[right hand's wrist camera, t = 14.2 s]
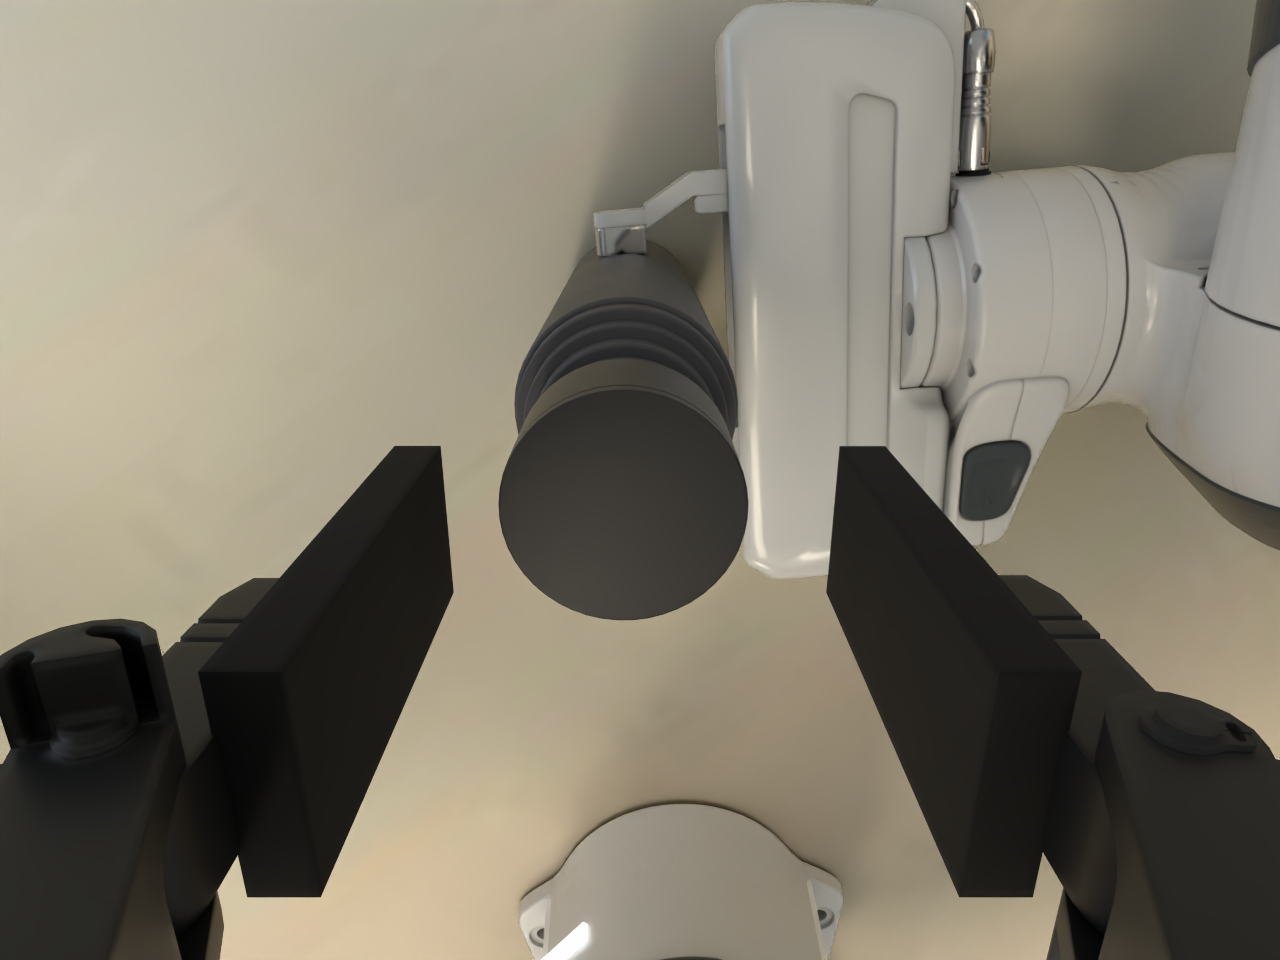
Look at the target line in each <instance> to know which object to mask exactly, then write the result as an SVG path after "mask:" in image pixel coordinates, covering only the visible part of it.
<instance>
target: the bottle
mask: <svg viewBox="0 0 1280 960" xmlns="http://www.w3.org/2000/svg"><path fill="white" fill-rule="evenodd" d="M646 246H647V253H640V254H627V253H625V252H623V251H622V250H621V251H620V252H619V253H618V254H617V255H612V256H598V255H597V247H596V248H594V249H593V250H591V251H590V252H589V253H588V254H586V256H585V257H584V258H583V259H582V260H581V261H580V262H579V264H578V265H577V267H576V268H575V270H574V272H573V274H572V275H571V277H570V279H569V281H568V283H567V284H566V286H565V288H564V290H563V291H562V293H561V295H560V297H559V299H558V300H557V302H556V304H555V306H554V308H553V309H552V311H551V313H550V315H549V316H548V318H547V320H546V322H545V324H544V325H543V327H542V329H541V331H540V333H539V334H538V336H537V338H536V340H535V341H534V343H533V345H532V347H531V349H530V350H529V352H528V354H527V356H526V358H525V360H524V362H523V365H522V367H521V370H520V373H519V376H518V380H517V385H516V391H515V418H516V423H517V429H518V434H519V433H520V431H521V428H522V426H523V424H524V421H525V419H526V417H527V416H528V414H529V412H530V410H531V408H532V407H533V405H534V404H535V403H536V401H537V400H538V399H539V397H540V396H541V395H542V394H543V393H544V392H545V391H546V390H547V389H548V388H549V387H550V386H551V385H552V384H554V383H555V382H556V381H558V380H559V379H560V378H562V377H563V376H565V375H567V374H568V373H570V372H572V371H574V370H576V369H578V368H581V367H583V366H585V365H588V364H592V363H595V362H599V361H604V360H611V359H638V360H645V361H650V362H654V363H657V364H661V365H663V366H666V367H668V368H671V369H673V370H675V371H677V372H679V373H681V374H682V375H684V376H686V377H687V378H689V379H690V380H691V381H693V382H694V383H695V384H697V385H698V386H699V387H700V388H701V389H702V390H703V391H704V392H705V393H706V394H707V395H708V396H709V397H710V399H711V400H712V401H713V402H714V404H715V405H716V406H717V408H718V410H719V411H720V413H721V415H722V417H723V419H724V421H725V423H726V426H727V428H728V431H729V434H730V436H731V439H732V440H733V436H734V432H735V427H736V422H737V415H738V396H737V387H736V383H735V379H734V374H733V372H732V369H731V366H730V364H729V361H728V359H727V357H726V355H725V353H724V351H723V349H722V347H721V345H720V343H719V341H718V339H717V337H716V335H715V333H714V331H713V328H712V326H711V324H710V322H709V320H708V318H707V316H706V314H705V312H704V310H703V308H702V306H701V304H700V302H699V300H698V298H697V296H696V294H695V292H694V290H693V288H692V286H691V284H690V282H689V279H688V277H687V275H686V273H685V272H684V270H683V268H682V266H681V265H680V264H679V262H678V261H677V260H676V259H675V257H674V256H673V255H672V254H671V253H669V252H668V251H667V250H666V249H664V248H663V247H661V246H659V245H658V244H655V243H653V242H651V241H648V240H646Z"/></svg>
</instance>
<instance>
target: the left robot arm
mask: <svg viewBox="0 0 1280 960" xmlns="http://www.w3.org/2000/svg"><path fill="white" fill-rule="evenodd" d="M966 14H967V16H968V18H969V21H970V25H971V31H967V32H965V15H966ZM995 55H996V45H995V36H994V31H993V29H989V28H987V29H985V28H984V20H983V17H982V13H981V10H980V8H979V6H978V4H977V3H976V1H975V0H871V1H870V2H869V3H868V5H867V6H866V5H856V4H843V3H823V2H781V3H763V4H755V5H751V6H749V7H746V8H744V9H743V10H741V11H740V12H739V13H738V14H737V15H736V16H735V17H734V18H733V19H732V20H731V21H730V22H729V23H728V25H727V26H726V27H725V29H724V30H723V31H722V33H721V35H720V36H719V38H718V40H717V42H716V45H715V73H716V96H717V118H718V141H719V164H720V169H710V170H699V171H689V172H687V173H685V174H684V175H682V176H681V177H680V178H678V179H677V180H676V181H674V182H673V183H671V184H670V185H669V186H667V187H666V188H665V189H663V190H662V191H660V192H659V193H658V194H656V195H655V196H654V197H652V198H651V199H649V200H648V201H647V202H645V203H644V207H641V208H629V209H618V210H606V211H599V212H594V213H593V217H594V229H595V238H596V247H597V255H598V256H612V255H617V254H618V253H619V252H620V251H621V250H622V251H623V252H625V253H627V254H640V253H647V246H646V229H648V228H649V227H650V226H652V225H653V224H655V223H656V222H658V221H659V220H660V219H662V218H663V217H665V216H666V215H667V214H669V213H670V212H672V211H673V210H674V209H676V208H677V207H679V206H680V205H682V204H683V203H684V202H686V201H687V200H689V199H690V201H691V208H692V209H693V210H694V211H695V212H696V213H698V214H704V213H718V212H722V231H723V254H724V276H725V299H726V321H727V344H728V361H729V364H730V366H731V369H732V372H733V374H734V379H735V383H736V387H737V396H738V415H737V422H736V427H735V432H734V436H733V440H732V442H733V445H734V447H735V450H736V453H737V456H738V459H739V461H740V464H741V467H742V470H743V472H744V476H745V481H746V485H747V491H748V502H749V504H748V520H747V525H746V530H745V534H744V537H743V540H742V543H741V546H740V550H741V553H742V556H743V559H744V561H745V562H746V564H748V565H749V566H751V567H752V568H754V569H755V570H757V571H759V572H760V573H762V574H764V575H766V576H768V577H771V578H776V579H792V578H805V577H815V576H824V575H828V569H829V558H830V547H831V536H832V524H833V513H834V502H835V491H836V480H837V468H838V457H839V446H886V447H887V449H888V450H889V451H890V452H891V453H892V454H893V455H894V457H895V458H896V459H897V460H898V461H899V462H900V463H901V465H902V466H903V467H904V468H905V469H906V470H907V472H908V473H909V474H910V475H911V476H912V477H913V478H914V480H915V481H916V482H917V483H918V484H919V485H920V486H921V488H922V489H923V490H924V491H925V492H926V493H927V494H928V496H929V497H930V498H931V499H932V500H933V501H934V502H935V504H936V505H937V506H938V507H939V508H940V509H941V511H942V512H943V513H944V514H945V515H946V516H947V517H948V519H949V520H950V521H951V522H952V523H953V524H954V525H955V527H956V528H957V529H958V530H959V531H960V532H961V533H962V535H963V536H964V537H965V538H966V539H967V540H968V541H969V543H970V544H971V545H972V546H978V545H986V544H990V543H994V542H996V541H997V540H999V539H1000V538H1001V537H1002V536H1003V535H1004V533H1005V532H1006V530H1007V529H1008V527H1009V525H1010V523H1011V520H1012V518H1013V516H1014V513H1015V511H1016V509H1017V506H1018V504H1019V501H1020V499H1021V497H1022V494H1023V492H1024V490H1025V487H1026V485H1027V483H1028V480H1029V478H1030V476H1031V474H1032V471H1033V469H1034V467H1035V465H1036V463H1037V461H1038V459H1039V457H1040V454H1041V452H1042V450H1043V448H1044V446H1045V444H1046V442H1047V440H1048V439H1049V437H1050V435H1051V433H1052V431H1053V429H1054V427H1055V426H1056V424H1057V422H1058V420H1059V418H1060V417H1061V415H1062V413H1071V412H1075V411H1078V410H1081V409H1085V408H1088V407H1092V406H1095V405H1100V404H1105V403H1122V404H1127V405H1130V406H1134V407H1136V408H1138V409H1140V410H1141V411H1142V412H1143V413H1144V414H1145V416H1146V418H1147V420H1148V422H1147V423H1146V430H1147V432H1148V433H1149V435H1150V436H1151V438H1152V439H1153V440H1154V441H1155V443H1156V444H1157V445H1158V447H1159V448H1160V449H1161V451H1162V452H1163V453H1164V454H1165V455H1166V456H1167V457H1168V459H1169V460H1170V461H1171V462H1172V463H1173V464H1174V465H1175V466H1176V468H1177V469H1178V470H1179V471H1180V472H1181V473H1182V474H1183V475H1184V476H1185V477H1186V478H1187V479H1188V480H1189V482H1190V483H1191V484H1192V485H1193V486H1194V487H1195V488H1196V489H1197V490H1198V491H1199V492H1200V493H1201V495H1202V496H1203V497H1204V498H1205V499H1206V500H1207V501H1208V502H1209V503H1210V504H1211V505H1212V506H1213V508H1214V509H1215V510H1216V511H1217V512H1218V513H1219V514H1220V515H1222V516H1223V517H1224V518H1225V519H1226V520H1228V521H1229V522H1230V523H1231V524H1233V525H1234V526H1236V527H1237V528H1239V529H1240V530H1242V531H1243V532H1245V533H1246V534H1248V535H1250V536H1251V537H1253V538H1255V539H1256V540H1258V541H1260V542H1262V543H1264V544H1266V545H1268V546H1270V547H1272V548H1275V549H1277V550H1280V0H1257V1H1256V9H1255V16H1254V23H1253V30H1252V38H1251V45H1250V52H1249V60H1248V67H1247V70H1248V74H1249V75H1250V76H1251V82H1250V87H1249V91H1248V96H1247V100H1246V105H1245V109H1244V114H1243V118H1242V123H1241V127H1240V132H1239V136H1238V141H1237V145H1236V150H1235V152H1227V153H1214V154H1202V155H1194V156H1188V157H1184V158H1180V159H1177V160H1174V161H1171V162H1168V163H1166V164H1163V165H1161V166H1158V167H1156V168H1153V169H1150V170H1145V171H1140V172H1117V171H1113V170H1109V169H1105V168H1100V167H1094V166H1087V165H1075V166H1064V167H1051V168H1039V169H1028V170H1016V171H1005V172H992V173H991V171H989V157H990V136H991V115H990V113H991V108H990V106H989V104H990V98H989V95H990V89H989V87H990V85H991V73H992V72H993V71H994V66H995ZM958 171H959V173H958ZM951 173H958V174H956V176H951ZM645 225H646V229H645ZM842 906H843V895H842V889H841V884H840V882H839V881H838V879H837V878H835V877H834V876H833V875H831V874H829V873H827V872H825V871H823V870H821V869H819V868H817V867H815V866H812V865H810V864H807V863H805V862H802V861H801V860H800V859H798V858H797V857H796V856H795V855H794V854H793V853H791V851H790V850H789V849H788V848H787V847H786V846H785V845H784V844H783V843H782V842H781V841H780V840H779V839H778V838H777V837H776V836H775V835H774V834H773V833H771V832H770V831H769V830H768V829H766V828H765V827H763V826H762V825H760V824H759V823H757V822H755V821H753V820H751V819H749V818H747V817H745V816H743V815H740V814H738V813H735V812H732V811H729V810H726V809H722V808H718V807H713V806H707V805H699V804H668V805H659V806H653V807H648V808H644V809H640V810H636V811H633V812H630V813H627V814H625V815H622V816H620V817H618V818H616V819H614V820H612V821H609V822H608V823H606V824H604V825H603V826H601V827H599V828H598V829H597V830H595V831H594V832H592V833H591V834H590V835H589V836H587V837H586V838H585V839H584V840H583V841H582V842H581V843H580V844H579V845H578V846H577V847H576V848H575V850H574V851H573V852H572V853H571V855H570V856H569V858H568V859H567V861H566V862H565V864H564V865H563V867H562V868H561V870H560V871H559V872H558V873H557V874H556V876H555V877H554V878H553V879H551V880H549V881H547V882H546V883H544V884H542V885H541V886H539V887H538V888H536V889H534V890H533V891H532V892H530V893H529V894H528V895H526V896H525V897H524V898H523V899H522V900H521V902H520V904H519V917H518V921H519V926H520V928H521V931H522V933H523V935H524V937H525V940H526V942H527V944H528V946H529V948H530V951H531V953H532V955H533V957H534V959H535V960H828V958H829V955H830V951H831V947H832V943H833V940H834V936H835V932H836V928H837V925H838V921H839V917H840V914H841V910H842Z"/></svg>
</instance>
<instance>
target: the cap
mask: <svg viewBox="0 0 1280 960" xmlns="http://www.w3.org/2000/svg"><path fill="white" fill-rule="evenodd" d="M748 504H749V502H748V491H747V485H746V481H745V476H744V472H743V470H742V467H741V464H740V461H739V459H738V456H737V453H736V450H735V447H734V445H733V442H732V439H731V436H730V434H729V431H728V428H727V426H726V423H725V421H724V419H723V417H722V415H721V413H720V411H719V410H718V408H717V406H716V405H715V404H714V402H713V401H712V400H711V399H710V397H709V396H708V395H707V394H706V393H705V392H704V391H703V390H702V389H701V388H700V387H699V386H698V385H697V384H695V383H694V382H693V381H691V380H690V379H689V378H687V377H686V376H684V375H682V374H681V373H679V372H677V371H675V370H673V369H671V368H668V367H666V366H663V365H661V364H657V363H654V362H650V361H645V360H638V359H611V360H604V361H599V362H595V363H592V364H588V365H585V366H583V367H581V368H578V369H576V370H574V371H572V372H570V373H568V374H567V375H565V376H563V377H562V378H560V379H559V380H558V381H556V382H555V383H554V384H552V385H551V386H550V387H549V388H548V389H547V390H546V391H545V392H544V393H543V394H542V395H541V396H540V397H539V399H538V400H537V401H536V403H535V404H534V405H533V407H532V408H531V410H530V412H529V414H528V416H527V417H526V419H525V421H524V424H523V426H522V428H521V431H520V433H519V436H518V438H517V440H516V443H515V445H514V447H513V450H512V452H511V454H510V457H509V459H508V462H507V464H506V467H505V470H504V472H503V476H502V481H501V485H500V491H499V518H500V523H501V528H502V533H503V536H504V539H505V541H506V544H507V547H508V549H509V551H510V553H511V555H512V557H513V559H514V561H515V562H516V564H517V565H518V566H519V568H520V569H521V571H522V572H523V573H524V575H525V576H526V577H527V578H528V579H529V580H530V581H531V582H532V583H533V584H534V585H535V586H536V587H537V588H538V589H539V590H541V591H542V592H543V593H544V594H545V595H547V596H548V597H550V598H551V599H553V600H554V601H556V602H557V603H559V604H561V605H563V606H565V607H567V608H569V609H571V610H574V611H577V612H580V613H582V614H585V615H589V616H593V617H597V618H602V619H611V620H637V619H645V618H651V617H655V616H659V615H663V614H666V613H668V612H671V611H674V610H677V609H679V608H681V607H683V606H685V605H687V604H689V603H691V602H692V601H694V600H695V599H697V598H698V597H699V596H701V595H702V594H704V593H705V592H706V591H707V590H708V589H710V588H711V587H712V586H713V585H714V584H715V583H716V582H717V581H718V580H719V579H720V578H721V576H722V575H723V574H724V573H725V572H726V570H727V569H728V567H729V566H730V564H731V563H732V561H733V560H734V558H735V556H736V554H737V552H738V550H739V548H740V546H741V543H742V540H743V537H744V534H745V530H746V525H747V520H748Z"/></svg>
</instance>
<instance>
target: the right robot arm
mask: <svg viewBox="0 0 1280 960" xmlns="http://www.w3.org/2000/svg"><path fill="white" fill-rule="evenodd" d="M452 595H453V580H452V569H451V558H450V547H449V536H448V524H447V513H446V502H445V491H444V480H443V468H442V457H441V446H394V447H393V449H392V450H391V451H390V452H389V453H388V454H387V455H386V457H385V458H384V459H383V460H382V461H381V462H380V463H379V465H378V466H377V467H376V468H375V469H374V470H373V472H372V473H371V474H370V475H369V476H368V477H367V478H366V480H365V481H364V482H363V483H362V484H361V485H360V486H359V488H358V489H357V490H356V491H355V492H354V493H353V494H352V496H351V497H350V498H349V499H348V500H347V501H346V502H345V504H344V505H343V506H342V507H341V508H340V509H339V511H338V512H337V513H336V514H335V515H334V516H333V517H332V519H331V520H330V521H329V522H328V523H327V524H326V525H325V527H324V528H323V529H322V530H321V531H320V532H319V533H318V535H317V536H316V537H315V538H314V539H313V540H312V541H311V543H310V544H309V545H308V546H307V547H306V548H305V550H304V551H303V552H302V553H301V554H300V555H299V556H298V558H297V559H296V560H295V561H294V562H293V563H292V564H291V566H290V567H289V568H288V569H287V570H286V571H285V572H284V574H283V575H282V576H281V577H280V578H253V579H251V580H250V581H248V582H246V583H244V584H242V585H241V586H239V587H237V588H235V589H233V590H232V591H230V592H228V593H226V594H224V595H223V596H221V597H219V598H218V599H217V600H216V602H215V603H214V604H213V605H212V606H211V607H210V608H209V609H208V610H207V611H206V612H205V613H204V614H203V615H202V616H201V617H200V618H199V619H198V620H199V622H198V623H194V624H193V625H192V626H191V627H190V628H189V629H188V630H187V631H186V632H185V633H184V634H183V635H182V636H181V641H180V642H176V643H175V644H174V645H173V646H172V647H171V648H170V649H169V650H168V651H167V652H166V653H165V654H164V655H163V656H162V655H161V650H160V646H159V642H158V638H157V633H156V630H154V629H153V628H151V627H150V626H148V625H147V624H145V623H144V622H139V621H132V620H126V619H109V620H94V621H88V622H84V623H79V624H75V625H70V626H66V627H61V628H58V629H55V630H53V631H50V632H47V633H45V634H42V635H39V636H36V637H34V638H31V639H28V640H27V641H25V642H23V643H21V644H20V645H18V646H16V647H14V648H13V649H11V650H9V651H7V652H5V653H4V654H2V655H1V656H0V717H1V720H2V723H3V726H4V729H5V732H6V735H7V738H8V741H9V745H10V748H11V750H10V751H9V753H8V755H7V757H6V759H5V761H4V763H3V764H0V960H220V952H221V945H222V938H223V930H224V923H223V916H222V909H221V905H220V900H219V896H218V892H217V890H218V888H219V886H220V885H221V883H222V881H223V880H224V878H225V876H226V874H227V873H228V871H229V869H230V867H231V866H232V864H233V862H234V861H235V859H236V857H237V855H238V857H239V862H240V866H241V871H242V875H243V880H244V884H245V889H246V893H247V897H321V895H322V893H323V891H324V888H325V886H326V884H327V881H328V879H329V877H330V875H331V872H332V870H333V868H334V865H335V863H336V861H337V859H338V856H339V854H340V852H341V849H342V847H343V845H344V842H345V840H346V838H347V836H348V833H349V831H350V829H351V826H352V824H353V822H354V820H355V817H356V815H357V813H358V810H359V808H360V806H361V803H362V801H363V799H364V797H365V794H366V792H367V790H368V787H369V785H370V783H371V781H372V778H373V776H374V774H375V771H376V769H377V767H378V764H379V762H380V760H381V758H382V755H383V753H384V751H385V748H386V746H387V744H388V742H389V739H390V737H391V735H392V732H393V730H394V728H395V725H396V723H397V721H398V719H399V716H400V714H401V712H402V709H403V707H404V705H405V703H406V700H407V698H408V696H409V693H410V691H411V689H412V687H413V684H414V682H415V680H416V677H417V675H418V673H419V670H420V668H421V666H422V664H423V661H424V659H425V657H426V654H427V652H428V650H429V648H430V645H431V643H432V641H433V638H434V636H435V634H436V631H437V629H438V627H439V625H440V622H441V620H442V618H443V615H444V613H445V611H446V609H447V606H448V604H449V602H450V599H451V597H452ZM827 595H828V597H829V599H830V602H831V604H832V606H833V609H834V611H835V613H836V615H837V618H838V620H839V622H840V625H841V627H842V629H843V631H844V634H845V636H846V638H847V641H848V643H849V645H850V648H851V650H852V652H853V654H854V657H855V659H856V661H857V664H858V666H859V668H860V670H861V673H862V675H863V677H864V680H865V682H866V684H867V687H868V689H869V691H870V693H871V696H872V698H873V700H874V703H875V705H876V707H877V709H878V712H879V714H880V716H881V719H882V721H883V723H884V725H885V728H886V730H887V732H888V735H889V737H890V739H891V742H892V744H893V746H894V748H895V751H896V753H897V755H898V758H899V760H900V762H901V764H902V767H903V769H904V771H905V774H906V776H907V778H908V781H909V783H910V785H911V787H912V790H913V792H914V794H915V797H916V799H917V801H918V803H919V806H920V808H921V810H922V813H923V815H924V817H925V820H926V822H927V824H928V826H929V829H930V831H931V833H932V836H933V838H934V840H935V842H936V845H937V847H938V849H939V852H940V854H941V856H942V859H943V861H944V863H945V865H946V868H947V870H948V872H949V875H950V877H951V879H952V881H953V884H954V886H955V888H956V891H957V893H958V895H959V897H1033V893H1034V889H1035V884H1036V880H1037V875H1038V871H1039V866H1040V862H1041V857H1042V853H1044V855H1045V856H1046V858H1047V860H1048V861H1049V863H1050V865H1051V866H1052V868H1053V870H1054V872H1055V873H1056V875H1057V877H1058V878H1059V880H1060V882H1061V884H1062V885H1063V887H1064V888H1063V892H1062V896H1061V900H1060V905H1059V909H1058V913H1057V917H1056V922H1055V926H1054V930H1053V934H1052V939H1051V943H1050V947H1049V951H1048V956H1047V960H1280V760H1277V759H1275V757H1274V755H1273V754H1272V752H1271V750H1270V748H1269V747H1268V746H1267V744H1266V743H1265V742H1264V741H1263V740H1262V739H1261V738H1260V736H1259V735H1258V734H1257V733H1256V732H1255V731H1254V730H1253V729H1252V728H1250V727H1249V726H1247V725H1246V724H1244V723H1243V722H1241V721H1240V720H1238V719H1237V718H1235V717H1234V716H1232V715H1231V714H1229V713H1227V712H1225V711H1223V710H1220V709H1218V708H1216V707H1214V706H1211V705H1209V704H1207V703H1204V702H1202V701H1200V700H1196V699H1192V698H1188V697H1185V696H1181V695H1177V694H1173V693H1169V692H1157V691H1155V690H1154V689H1153V688H1152V687H1151V686H1150V685H1149V684H1148V683H1147V682H1146V681H1145V680H1144V679H1143V678H1142V677H1141V676H1140V675H1139V674H1138V673H1137V671H1136V670H1135V669H1134V668H1133V667H1132V666H1131V665H1130V664H1129V663H1128V662H1127V661H1126V660H1125V659H1124V658H1123V657H1122V656H1121V655H1120V654H1119V653H1118V652H1117V651H1116V650H1115V649H1114V648H1113V647H1112V646H1111V645H1110V644H1109V643H1108V642H1107V641H1106V640H1105V639H1100V634H1099V633H1098V632H1097V631H1096V630H1095V629H1094V628H1093V627H1092V626H1091V625H1090V624H1089V622H1088V621H1087V620H1082V615H1081V614H1080V613H1079V612H1078V611H1077V610H1076V609H1075V608H1074V607H1073V606H1072V605H1071V604H1070V603H1069V602H1068V601H1067V600H1066V599H1065V598H1064V597H1063V596H1062V595H1061V594H1060V593H1058V592H1056V591H1054V590H1052V589H1051V588H1049V587H1047V586H1045V585H1043V584H1041V583H1040V582H1038V581H1036V580H1034V579H1032V578H1031V577H1029V576H1027V575H997V574H996V572H995V571H994V570H993V569H992V568H991V567H990V566H989V564H988V563H987V562H986V561H985V560H984V559H983V558H982V556H981V555H980V554H979V553H978V552H977V551H976V550H975V548H974V547H973V546H972V545H971V544H970V543H969V541H968V540H967V539H966V538H965V537H964V536H963V535H962V533H961V532H960V531H959V530H958V529H957V528H956V527H955V525H954V524H953V523H952V522H951V521H950V520H949V519H948V517H947V516H946V515H945V514H944V513H943V512H942V511H941V509H940V508H939V507H938V506H937V505H936V504H935V502H934V501H933V500H932V499H931V498H930V497H929V496H928V494H927V493H926V492H925V491H924V490H923V489H922V488H921V486H920V485H919V484H918V483H917V482H916V481H915V480H914V478H913V477H912V476H911V475H910V474H909V473H908V472H907V470H906V469H905V468H904V467H903V466H902V465H901V463H900V462H899V461H898V460H897V459H896V458H895V457H894V455H893V454H892V453H891V452H890V451H889V450H888V449H887V447H886V446H839V457H838V468H837V480H836V491H835V502H834V513H833V524H832V536H831V547H830V558H829V569H828V580H827Z"/></svg>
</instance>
